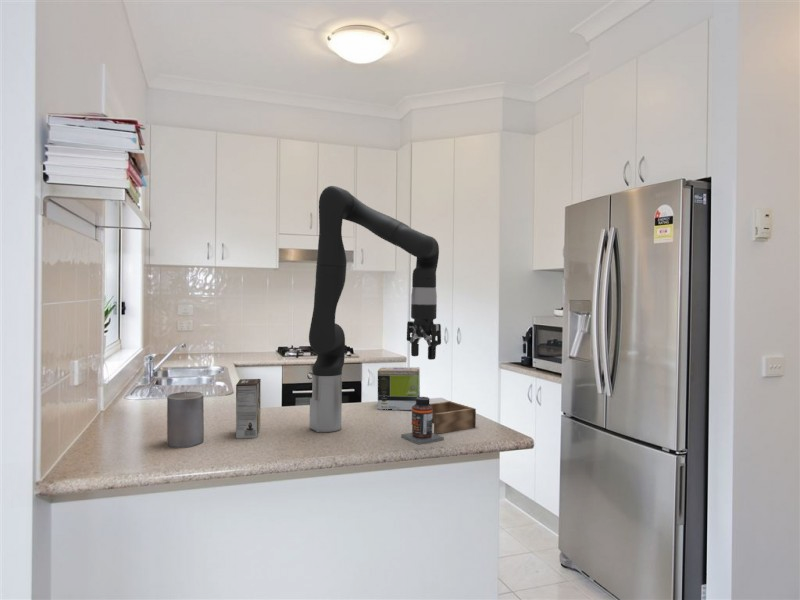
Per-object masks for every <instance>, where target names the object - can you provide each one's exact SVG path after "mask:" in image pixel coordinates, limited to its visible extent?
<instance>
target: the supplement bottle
mask: <svg viewBox="0 0 800 600" xmlns="http://www.w3.org/2000/svg"><path fill="white" fill-rule="evenodd" d="M430 404H431V403H430V398H429V397H428V396H420V397H417V398H416V404H415V405H414V406H413V414H412V413H411V426H412V428H411V433H412V435H413V436H414V437H418V438H428V437H431V436H432V433H433V422H432V413H433V412H432V411H433V409H432V406H431V405H430Z"/></svg>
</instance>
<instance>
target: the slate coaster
mask: <svg viewBox="0 0 800 600" xmlns="http://www.w3.org/2000/svg"><path fill="white" fill-rule="evenodd" d="M400 436H401V437H400V438H402V439H405V440H408V442H409V441H410V442H412V443H414V444H417V445H423V444H428V443H434V442H439V441H440V442H441V441H444V439H445V438H444V437H443V436H441V435H440V434H435V433H434V432H432V436H431V437H428V438H418V437H414V436H413V435H412V432H407V433H402V434H401V435H400Z"/></svg>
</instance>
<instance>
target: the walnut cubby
mask: <svg viewBox="0 0 800 600" xmlns="http://www.w3.org/2000/svg"><path fill="white" fill-rule="evenodd" d="M429 404H430V405H431V406H432V409H433V411H432V412H433V413H432V423H433V433H434V434H437V435H440V434H444V433H450V432H456V431H462V430H469V429H474V428H476V426H477V425H476V422H477V421H476V419H477V417H476V416H477V415H476V412H477V410H476V408H474V407H471V406H468V405H464V404H460V403H457V402H453V401H450V400H449V401H442V402H434V403H429ZM412 414H413V406H412V410H411V415H412Z"/></svg>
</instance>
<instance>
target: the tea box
mask: <svg viewBox="0 0 800 600" xmlns="http://www.w3.org/2000/svg"><path fill="white" fill-rule="evenodd" d="M420 376H421V375H420V367H418V366H417V367H415V366H408V367H407V366H381V367H380V368H379V369H378V370H377V410H383V409H385V410H386V409H387V410H388V409H392V410H393V411H394V410H395V411H399V410H400V411H412V406H414V405H415V404H416V398H417V397H421V395H420V394H421V392H420V390H421V389H420V387H421V386H420ZM387 410H386V411H387ZM388 411H389V410H388Z"/></svg>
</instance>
